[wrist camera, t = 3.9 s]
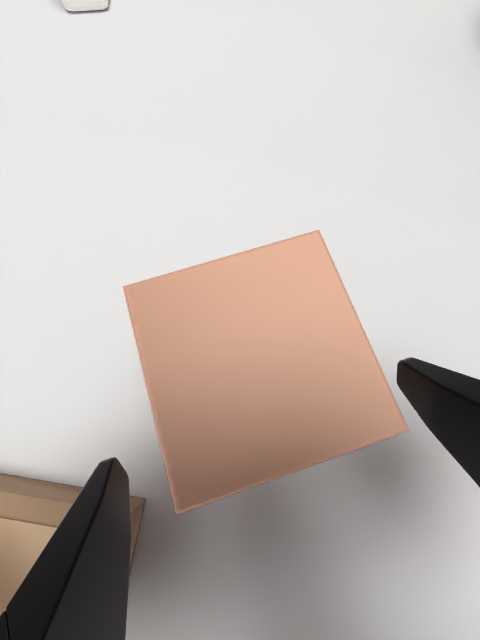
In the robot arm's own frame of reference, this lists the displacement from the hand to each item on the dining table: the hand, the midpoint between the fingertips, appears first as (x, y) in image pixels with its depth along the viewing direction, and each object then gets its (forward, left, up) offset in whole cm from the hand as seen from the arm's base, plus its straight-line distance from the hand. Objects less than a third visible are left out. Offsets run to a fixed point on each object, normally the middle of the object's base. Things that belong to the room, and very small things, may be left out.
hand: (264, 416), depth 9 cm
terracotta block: (+1, +1, -9) cm, 9 cm away
